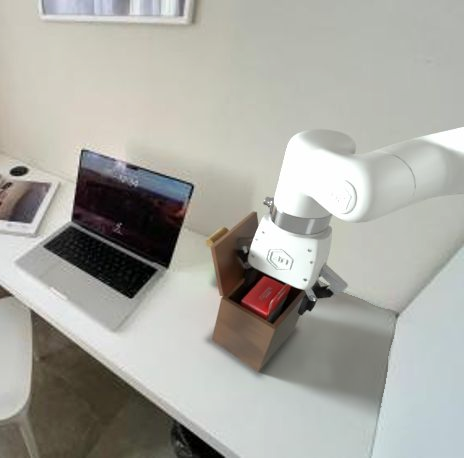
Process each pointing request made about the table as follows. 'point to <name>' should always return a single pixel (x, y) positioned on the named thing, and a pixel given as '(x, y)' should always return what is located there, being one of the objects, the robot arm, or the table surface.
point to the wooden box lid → (230, 252)
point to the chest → (254, 325)
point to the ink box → (266, 299)
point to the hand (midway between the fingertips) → (275, 295)
